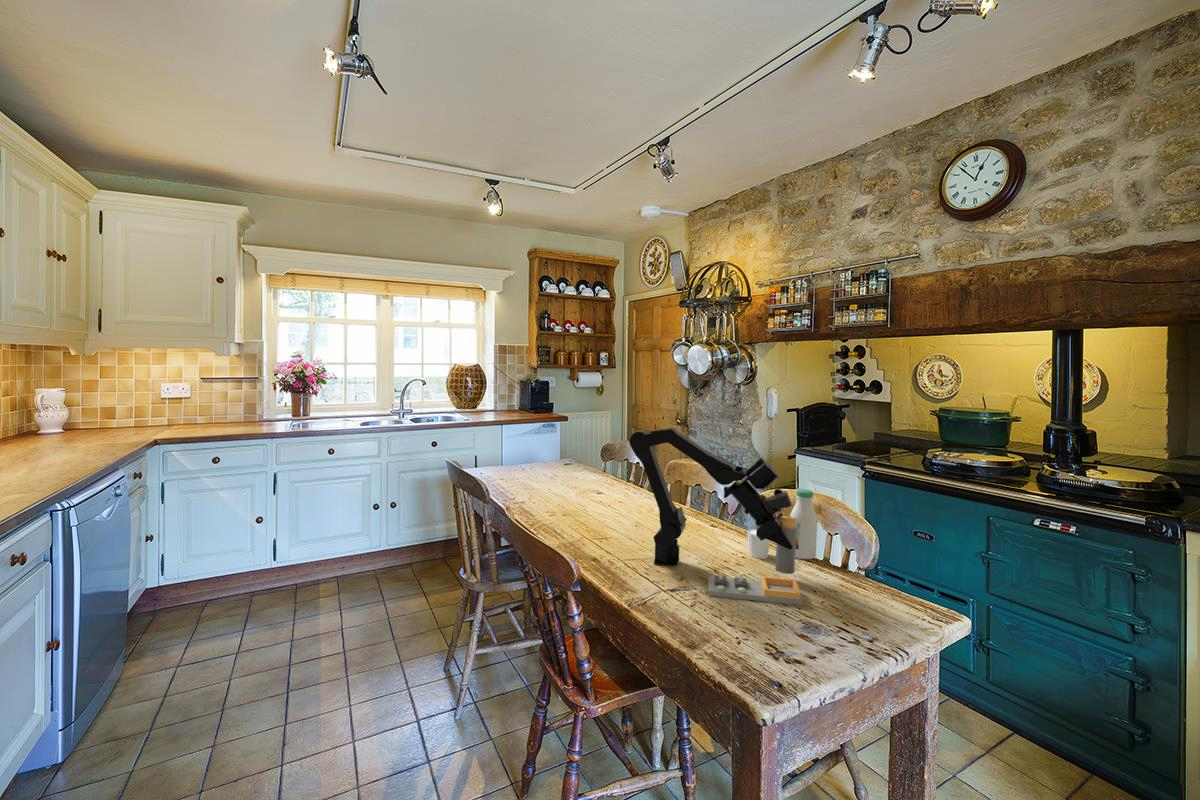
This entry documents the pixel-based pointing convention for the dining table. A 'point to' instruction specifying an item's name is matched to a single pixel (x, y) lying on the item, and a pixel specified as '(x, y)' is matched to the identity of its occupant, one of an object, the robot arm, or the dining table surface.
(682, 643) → the dining table surface
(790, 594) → the breaker panel
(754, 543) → the white tapered cup
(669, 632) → the dining table surface
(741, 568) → the dining table surface
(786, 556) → the grey orange cylinder
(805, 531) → the milk bottle
